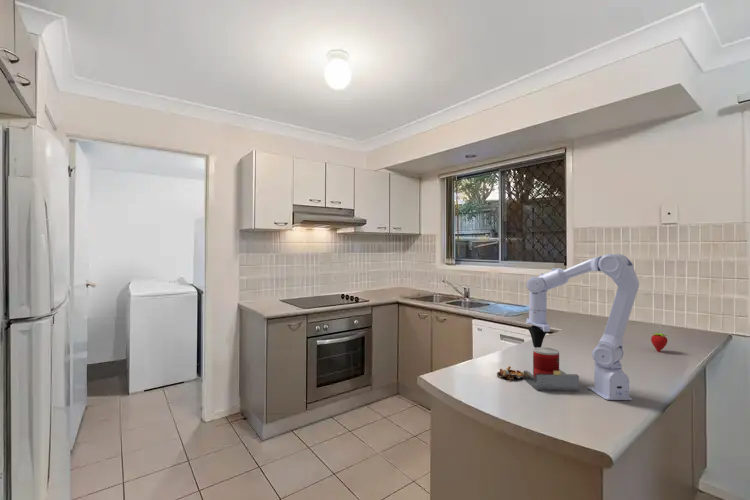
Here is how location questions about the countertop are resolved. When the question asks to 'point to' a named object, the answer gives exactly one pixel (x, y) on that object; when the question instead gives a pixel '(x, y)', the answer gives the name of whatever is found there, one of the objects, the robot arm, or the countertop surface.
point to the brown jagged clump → (510, 374)
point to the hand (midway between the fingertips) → (537, 347)
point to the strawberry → (659, 341)
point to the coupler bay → (553, 381)
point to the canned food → (545, 360)
